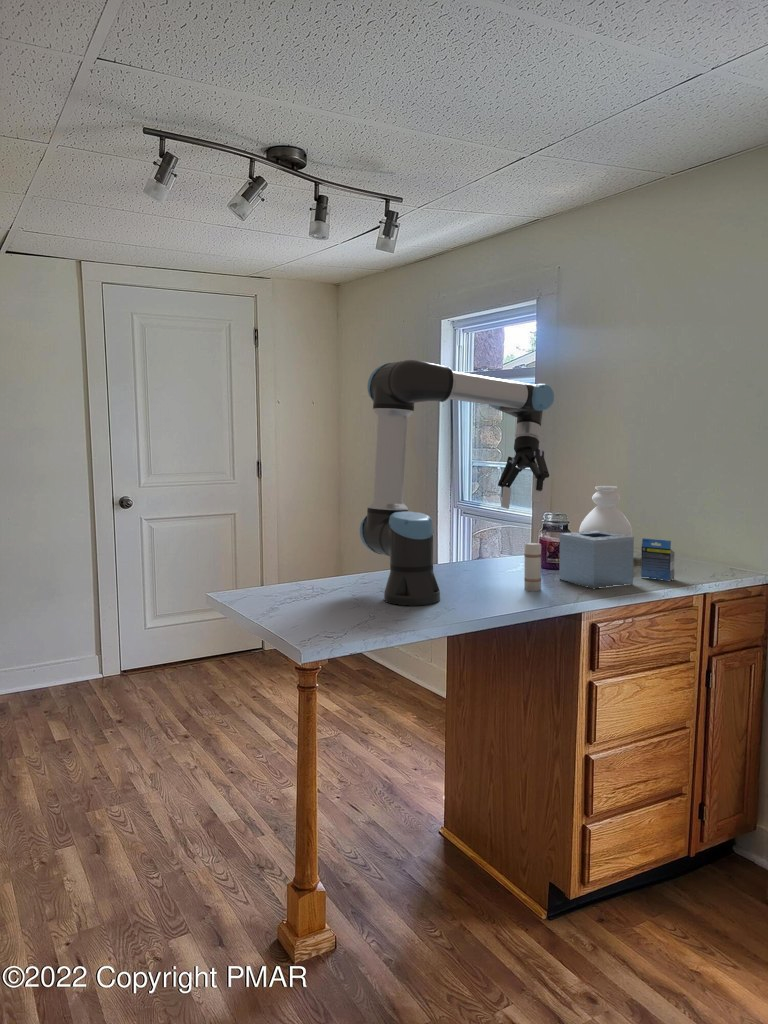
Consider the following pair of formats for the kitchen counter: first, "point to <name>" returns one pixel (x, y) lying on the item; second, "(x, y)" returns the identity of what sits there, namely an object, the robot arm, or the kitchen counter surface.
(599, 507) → the decorative vase
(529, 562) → the coin roll
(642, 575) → the label tape box
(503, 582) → the kitchen counter surface
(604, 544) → the grey box with opening
